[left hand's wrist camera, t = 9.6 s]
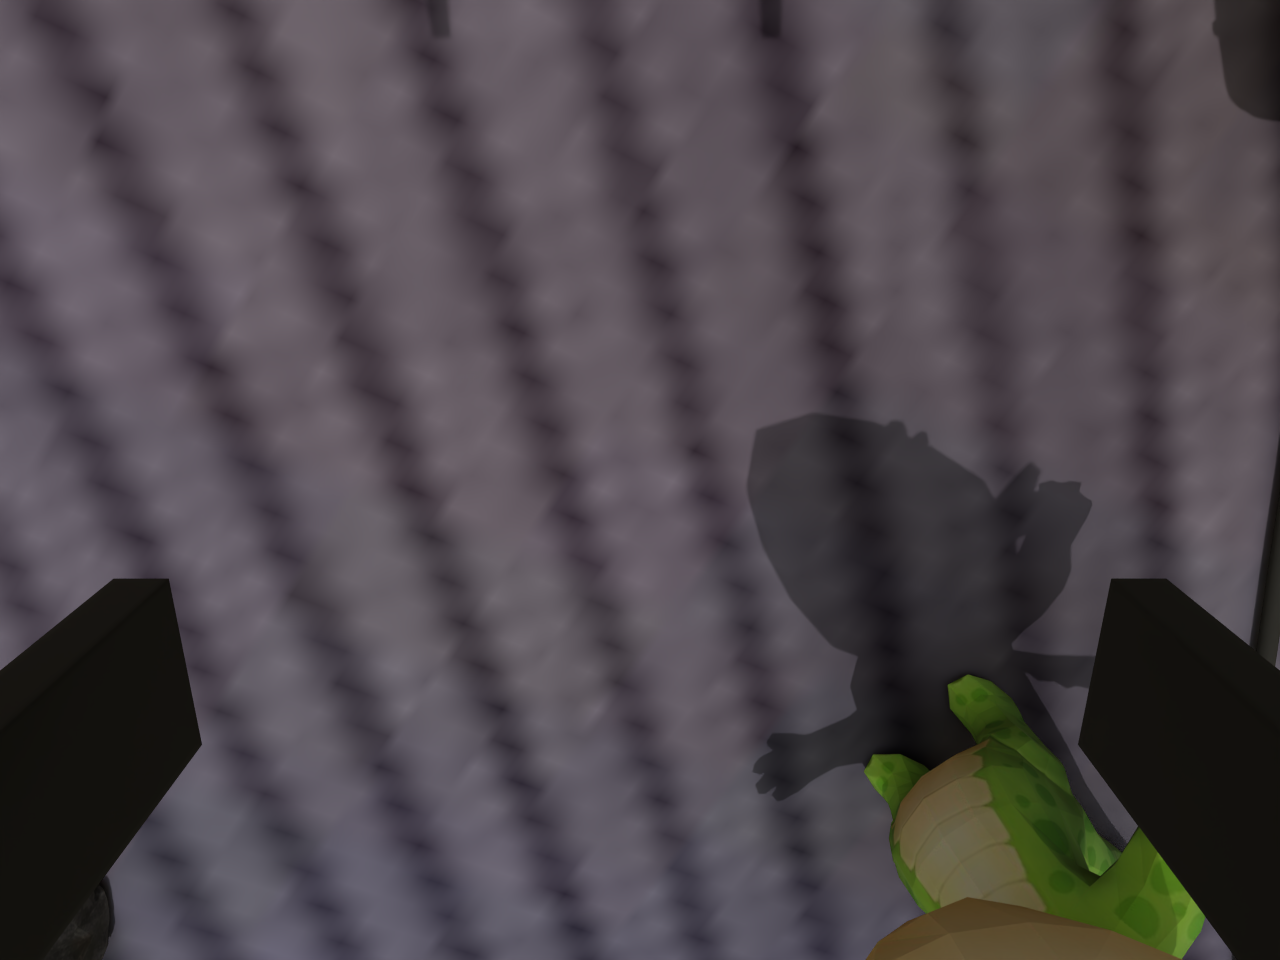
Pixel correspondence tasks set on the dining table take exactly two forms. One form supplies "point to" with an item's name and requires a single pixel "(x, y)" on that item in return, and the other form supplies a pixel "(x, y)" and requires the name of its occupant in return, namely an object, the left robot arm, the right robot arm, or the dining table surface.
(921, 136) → the dining table surface
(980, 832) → the toy
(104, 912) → the rock
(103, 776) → the left robot arm
